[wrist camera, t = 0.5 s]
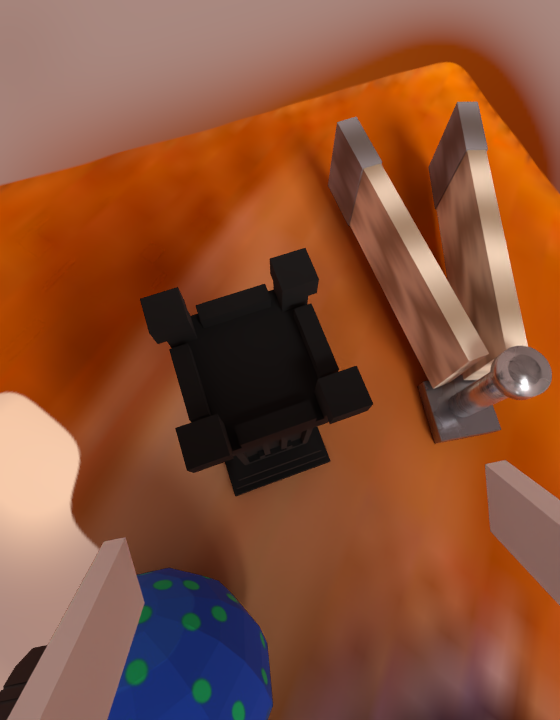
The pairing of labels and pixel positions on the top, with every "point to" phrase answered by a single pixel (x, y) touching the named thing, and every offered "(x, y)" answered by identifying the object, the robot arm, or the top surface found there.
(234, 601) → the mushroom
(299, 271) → the chess piece
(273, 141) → the top surface
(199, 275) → the top surface
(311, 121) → the top surface
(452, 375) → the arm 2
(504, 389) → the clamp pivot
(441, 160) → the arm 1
